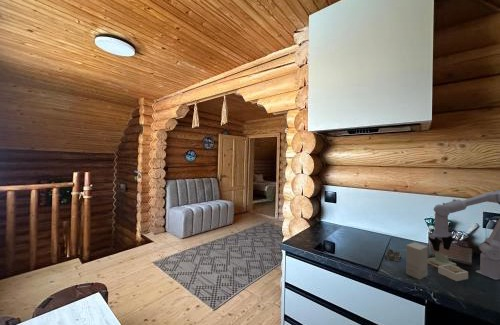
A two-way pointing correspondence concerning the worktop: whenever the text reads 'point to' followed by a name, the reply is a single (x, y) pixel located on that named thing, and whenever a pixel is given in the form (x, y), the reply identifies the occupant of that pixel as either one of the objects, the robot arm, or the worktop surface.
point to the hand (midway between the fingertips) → (441, 250)
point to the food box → (455, 276)
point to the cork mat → (436, 264)
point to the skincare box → (416, 260)
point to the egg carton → (393, 255)
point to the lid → (441, 260)
